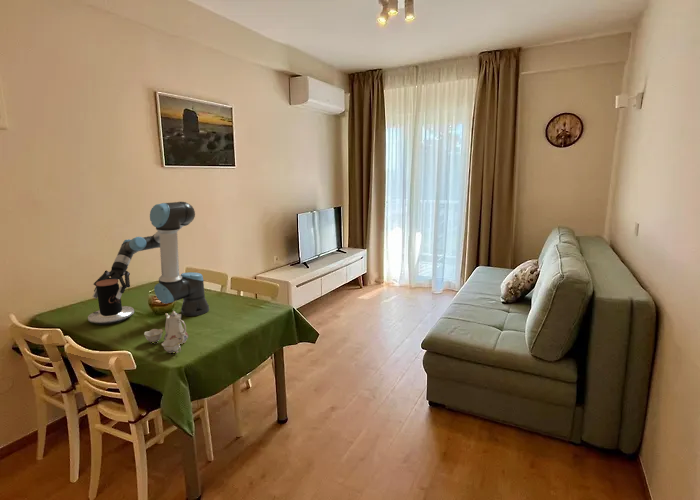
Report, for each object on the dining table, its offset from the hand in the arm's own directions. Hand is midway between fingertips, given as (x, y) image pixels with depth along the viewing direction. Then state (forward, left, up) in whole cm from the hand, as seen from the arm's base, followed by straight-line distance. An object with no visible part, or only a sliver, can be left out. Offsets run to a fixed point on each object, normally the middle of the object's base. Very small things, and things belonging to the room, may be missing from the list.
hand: (106, 297), depth 212 cm
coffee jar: (0, -2, -10) cm, 10 cm away
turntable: (0, -2, -11) cm, 11 cm away
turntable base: (0, -2, -13) cm, 13 cm away
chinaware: (-50, +25, -14) cm, 58 cm away
